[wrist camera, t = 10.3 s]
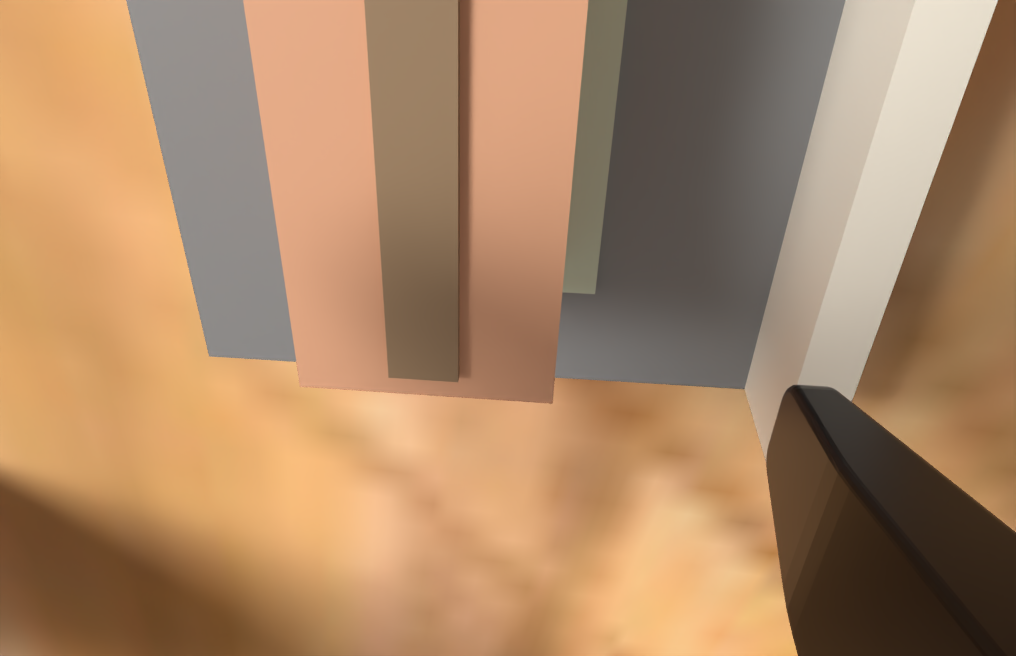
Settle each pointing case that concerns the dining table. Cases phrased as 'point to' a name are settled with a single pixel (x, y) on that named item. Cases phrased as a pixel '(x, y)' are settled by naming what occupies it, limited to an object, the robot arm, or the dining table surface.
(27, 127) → the dining table surface
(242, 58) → the tray
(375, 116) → the terracotta block
